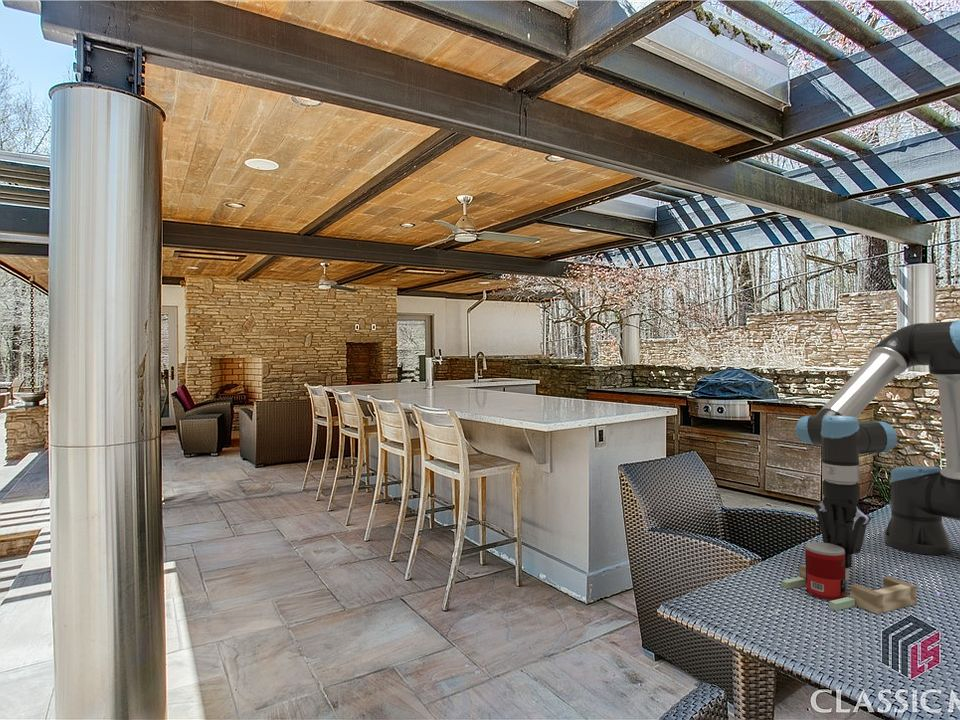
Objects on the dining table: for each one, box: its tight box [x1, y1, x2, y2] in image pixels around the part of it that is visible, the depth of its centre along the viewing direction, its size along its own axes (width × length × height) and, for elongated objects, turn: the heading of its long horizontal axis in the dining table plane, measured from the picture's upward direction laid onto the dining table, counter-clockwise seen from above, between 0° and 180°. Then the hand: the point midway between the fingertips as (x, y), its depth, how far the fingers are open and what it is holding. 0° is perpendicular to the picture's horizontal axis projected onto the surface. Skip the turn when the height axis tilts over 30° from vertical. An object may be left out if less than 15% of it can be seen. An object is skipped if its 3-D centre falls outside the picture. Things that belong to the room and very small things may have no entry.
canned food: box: [804, 541, 847, 601], centre depth 132 cm, size 8×8×11 cm
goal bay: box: [781, 576, 856, 612], centre depth 131 cm, size 6×14×2 cm, turn 20°
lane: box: [798, 564, 918, 615], centre depth 133 cm, size 13×19×4 cm
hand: (842, 579), depth 134 cm, fingers closed
